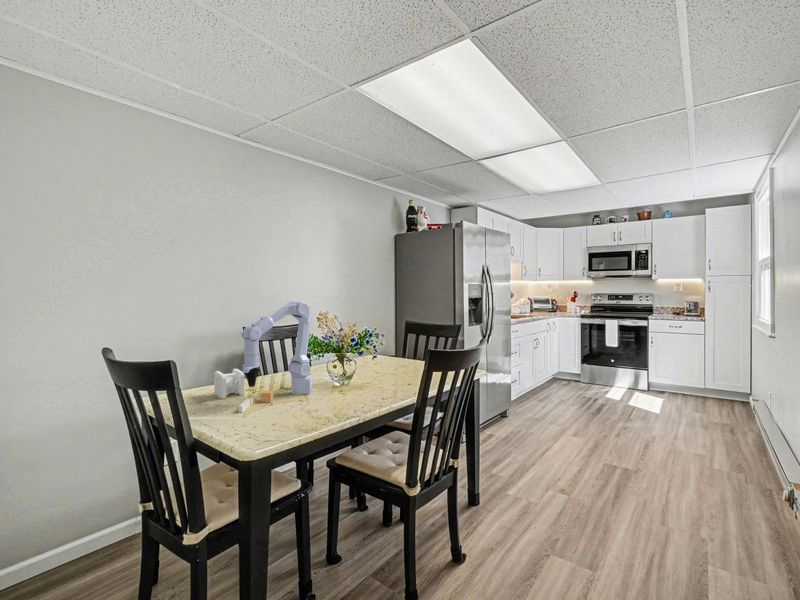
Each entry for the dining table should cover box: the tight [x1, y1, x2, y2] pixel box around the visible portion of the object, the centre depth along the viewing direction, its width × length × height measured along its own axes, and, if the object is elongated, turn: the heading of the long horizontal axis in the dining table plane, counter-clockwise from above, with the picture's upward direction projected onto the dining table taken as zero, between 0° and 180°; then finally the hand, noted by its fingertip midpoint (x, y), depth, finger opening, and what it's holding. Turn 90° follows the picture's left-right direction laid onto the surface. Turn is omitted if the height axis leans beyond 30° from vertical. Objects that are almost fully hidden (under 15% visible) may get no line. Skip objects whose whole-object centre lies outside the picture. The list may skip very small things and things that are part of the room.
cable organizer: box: [213, 368, 245, 400], centre depth 191 cm, size 15×11×12 cm
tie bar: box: [237, 397, 254, 413], centre depth 169 cm, size 2×12×2 cm, turn 2°
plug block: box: [260, 390, 274, 403], centre depth 180 cm, size 4×4×4 cm
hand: (251, 386), depth 176 cm, fingers closed
